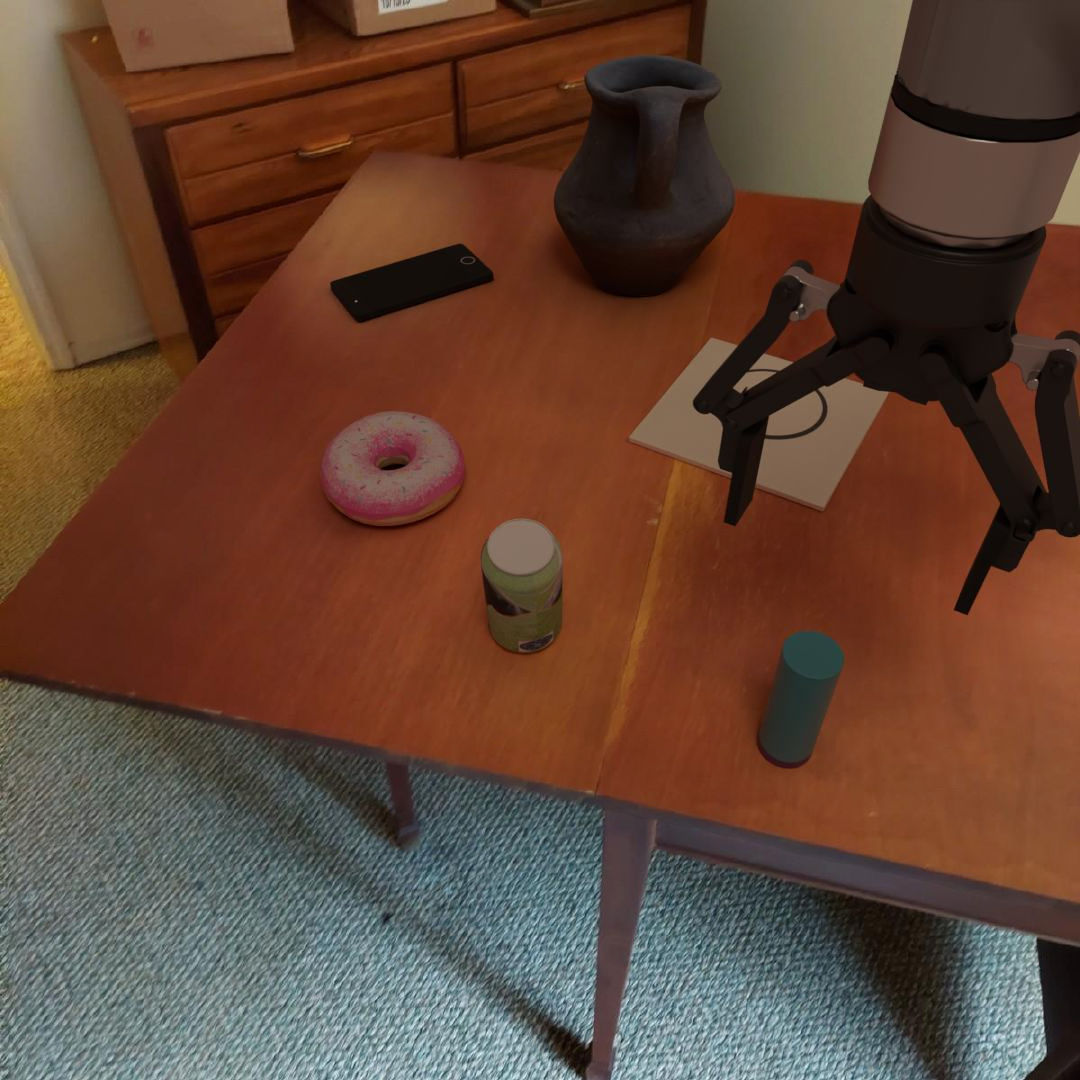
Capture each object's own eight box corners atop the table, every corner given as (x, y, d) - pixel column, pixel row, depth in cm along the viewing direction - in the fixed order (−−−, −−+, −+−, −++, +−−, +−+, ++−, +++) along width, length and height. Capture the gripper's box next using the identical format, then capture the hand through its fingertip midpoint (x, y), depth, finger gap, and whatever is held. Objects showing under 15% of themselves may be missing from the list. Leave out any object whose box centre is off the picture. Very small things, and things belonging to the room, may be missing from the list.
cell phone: (495, 280, 116) (495, 273, 115) (357, 323, 110) (356, 316, 109) (462, 248, 121) (461, 242, 121) (329, 288, 115) (328, 281, 114)
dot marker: (820, 736, 71) (852, 645, 63) (801, 777, 69) (832, 688, 61) (769, 713, 72) (795, 621, 64) (748, 753, 70) (773, 662, 62)
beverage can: (555, 596, 81) (554, 493, 72) (571, 665, 76) (573, 563, 67) (481, 606, 80) (472, 503, 71) (493, 677, 75) (484, 575, 66)
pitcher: (708, 231, 124) (734, 23, 106) (739, 325, 109) (775, 101, 91) (550, 236, 123) (549, 28, 106) (558, 331, 108) (559, 107, 90)
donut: (387, 560, 84) (380, 520, 80) (295, 491, 90) (284, 450, 87) (495, 483, 91) (493, 443, 87) (402, 424, 97) (396, 384, 94)
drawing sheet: (888, 396, 99) (889, 390, 99) (822, 512, 87) (824, 506, 87) (710, 341, 107) (711, 335, 106) (628, 441, 95) (628, 435, 94)
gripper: (1299, 240, 38) (1087, 591, 53) (718, 116, 47) (679, 445, 62) (1290, 333, 33) (1061, 687, 49) (650, 176, 43) (626, 515, 58)
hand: (847, 552), depth 56 cm, fingers open, 13 cm apart
